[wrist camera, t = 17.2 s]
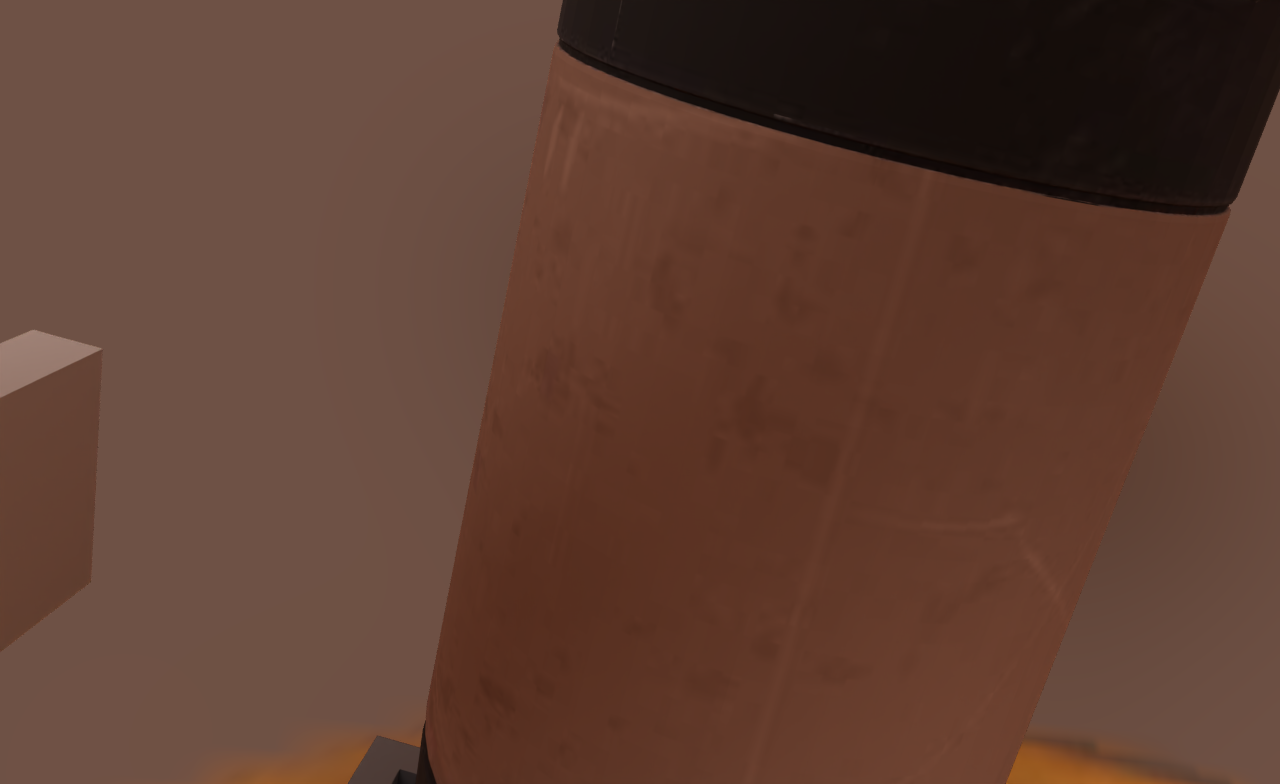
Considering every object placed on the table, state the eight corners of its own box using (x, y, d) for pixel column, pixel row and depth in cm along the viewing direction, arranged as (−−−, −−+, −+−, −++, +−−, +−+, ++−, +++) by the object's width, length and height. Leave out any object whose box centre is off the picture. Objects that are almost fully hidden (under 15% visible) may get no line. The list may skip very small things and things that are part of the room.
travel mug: (509, 910, 24) (748, -133, 17) (860, 1116, 21) (1318, -16, 14) (235, 1230, 17) (438, -262, 10) (693, 1584, 15) (1394, -89, 8)
